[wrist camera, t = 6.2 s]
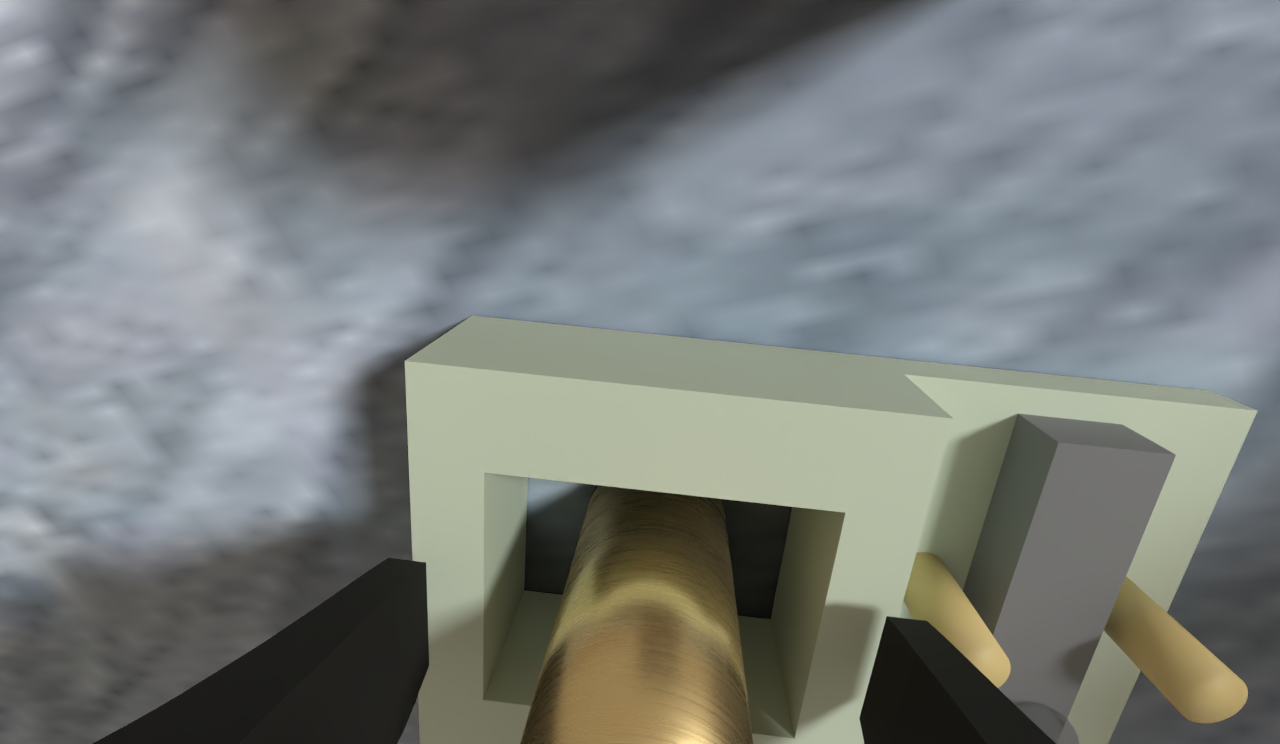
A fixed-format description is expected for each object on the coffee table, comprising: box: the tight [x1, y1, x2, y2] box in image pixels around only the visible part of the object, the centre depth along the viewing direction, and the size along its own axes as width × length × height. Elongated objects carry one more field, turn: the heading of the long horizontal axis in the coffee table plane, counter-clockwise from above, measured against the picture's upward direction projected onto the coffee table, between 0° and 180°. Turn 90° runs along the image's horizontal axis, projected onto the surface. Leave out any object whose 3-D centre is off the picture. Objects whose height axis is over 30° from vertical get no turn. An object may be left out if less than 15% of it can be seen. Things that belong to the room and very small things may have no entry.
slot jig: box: [405, 316, 1257, 744], centre depth 11 cm, size 14×8×3 cm, turn 85°
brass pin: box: [520, 485, 753, 744], centre depth 10 cm, size 3×3×7 cm
